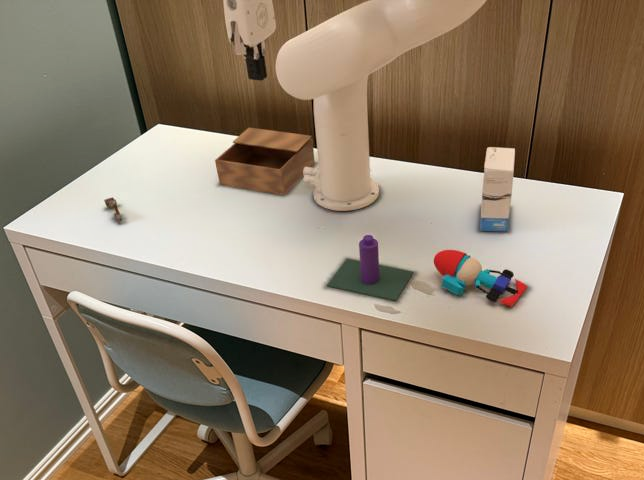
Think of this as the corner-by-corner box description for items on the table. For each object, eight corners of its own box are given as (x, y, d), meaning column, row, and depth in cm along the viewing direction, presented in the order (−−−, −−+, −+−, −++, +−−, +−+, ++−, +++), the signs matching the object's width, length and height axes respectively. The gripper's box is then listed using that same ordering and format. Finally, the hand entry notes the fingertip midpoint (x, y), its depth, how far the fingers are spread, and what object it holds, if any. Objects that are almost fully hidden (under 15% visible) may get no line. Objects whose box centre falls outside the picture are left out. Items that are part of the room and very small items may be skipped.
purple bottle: (358, 282, 115) (355, 240, 110) (365, 272, 117) (363, 230, 112) (375, 286, 114) (373, 244, 109) (382, 275, 116) (380, 233, 111)
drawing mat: (327, 286, 116) (326, 284, 116) (346, 259, 121) (346, 258, 121) (396, 301, 112) (395, 299, 111) (413, 273, 117) (413, 271, 117)
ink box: (508, 232, 123) (514, 170, 115) (479, 231, 124) (483, 169, 116) (509, 207, 129) (515, 146, 122) (481, 206, 130) (485, 145, 123)
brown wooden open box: (219, 184, 144) (214, 160, 140) (253, 154, 153) (249, 130, 149) (284, 195, 139) (280, 170, 135) (315, 163, 148) (312, 139, 144)
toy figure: (526, 291, 113) (442, 255, 118) (534, 269, 109) (447, 232, 114) (507, 321, 109) (421, 282, 114) (514, 299, 105) (425, 259, 110)
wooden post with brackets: (116, 223, 134) (108, 199, 132) (111, 221, 141) (103, 198, 139) (126, 220, 134) (117, 196, 133) (120, 218, 142) (112, 196, 140)
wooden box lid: (232, 143, 145) (232, 141, 144) (249, 128, 149) (248, 127, 149) (296, 152, 139) (296, 150, 139) (311, 137, 144) (311, 135, 144)
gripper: (238, -16, 116) (255, 96, 128) (281, -41, 125) (293, 65, 138) (200, -18, 118) (220, 92, 131) (245, -42, 128) (259, 62, 140)
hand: (257, 78), depth 134 cm, fingers closed
